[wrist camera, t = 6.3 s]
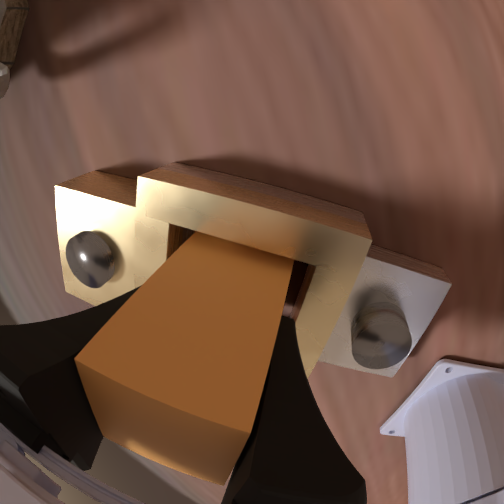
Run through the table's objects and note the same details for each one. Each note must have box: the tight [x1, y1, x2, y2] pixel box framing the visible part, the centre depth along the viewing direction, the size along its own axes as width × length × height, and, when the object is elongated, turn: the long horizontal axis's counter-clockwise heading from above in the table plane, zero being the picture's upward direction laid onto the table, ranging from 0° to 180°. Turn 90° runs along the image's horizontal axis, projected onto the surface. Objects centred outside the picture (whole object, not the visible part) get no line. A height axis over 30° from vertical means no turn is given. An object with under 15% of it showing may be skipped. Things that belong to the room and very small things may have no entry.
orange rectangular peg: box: [74, 231, 294, 486], centre depth 10 cm, size 4×4×8 cm
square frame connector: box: [55, 162, 452, 379], centre depth 13 cm, size 18×8×4 cm, turn 78°
